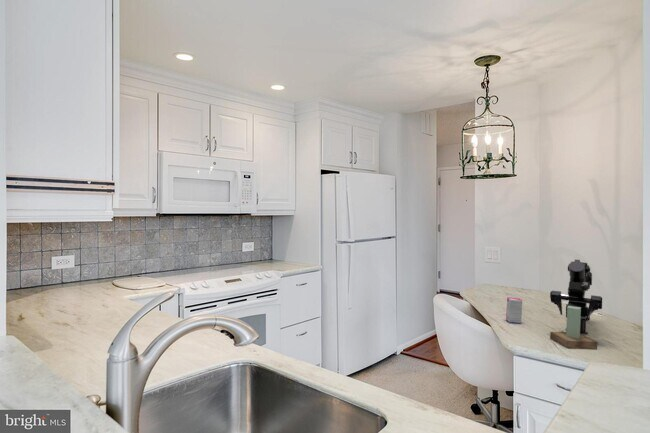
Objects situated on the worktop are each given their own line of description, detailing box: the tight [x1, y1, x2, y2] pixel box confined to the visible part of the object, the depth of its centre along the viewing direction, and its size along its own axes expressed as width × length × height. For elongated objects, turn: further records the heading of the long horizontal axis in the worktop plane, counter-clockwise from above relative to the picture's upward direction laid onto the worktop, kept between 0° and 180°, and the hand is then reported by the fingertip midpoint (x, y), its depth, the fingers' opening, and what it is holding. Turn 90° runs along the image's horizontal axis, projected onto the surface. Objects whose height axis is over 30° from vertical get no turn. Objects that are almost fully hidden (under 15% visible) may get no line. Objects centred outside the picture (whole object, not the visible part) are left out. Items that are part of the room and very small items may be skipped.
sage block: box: [565, 306, 581, 339], centre depth 166 cm, size 4×4×12 cm
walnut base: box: [549, 331, 598, 350], centre depth 167 cm, size 12×12×3 cm
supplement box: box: [505, 296, 523, 325], centre depth 197 cm, size 6×6×12 cm
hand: (574, 316), depth 168 cm, fingers open, 9 cm apart
